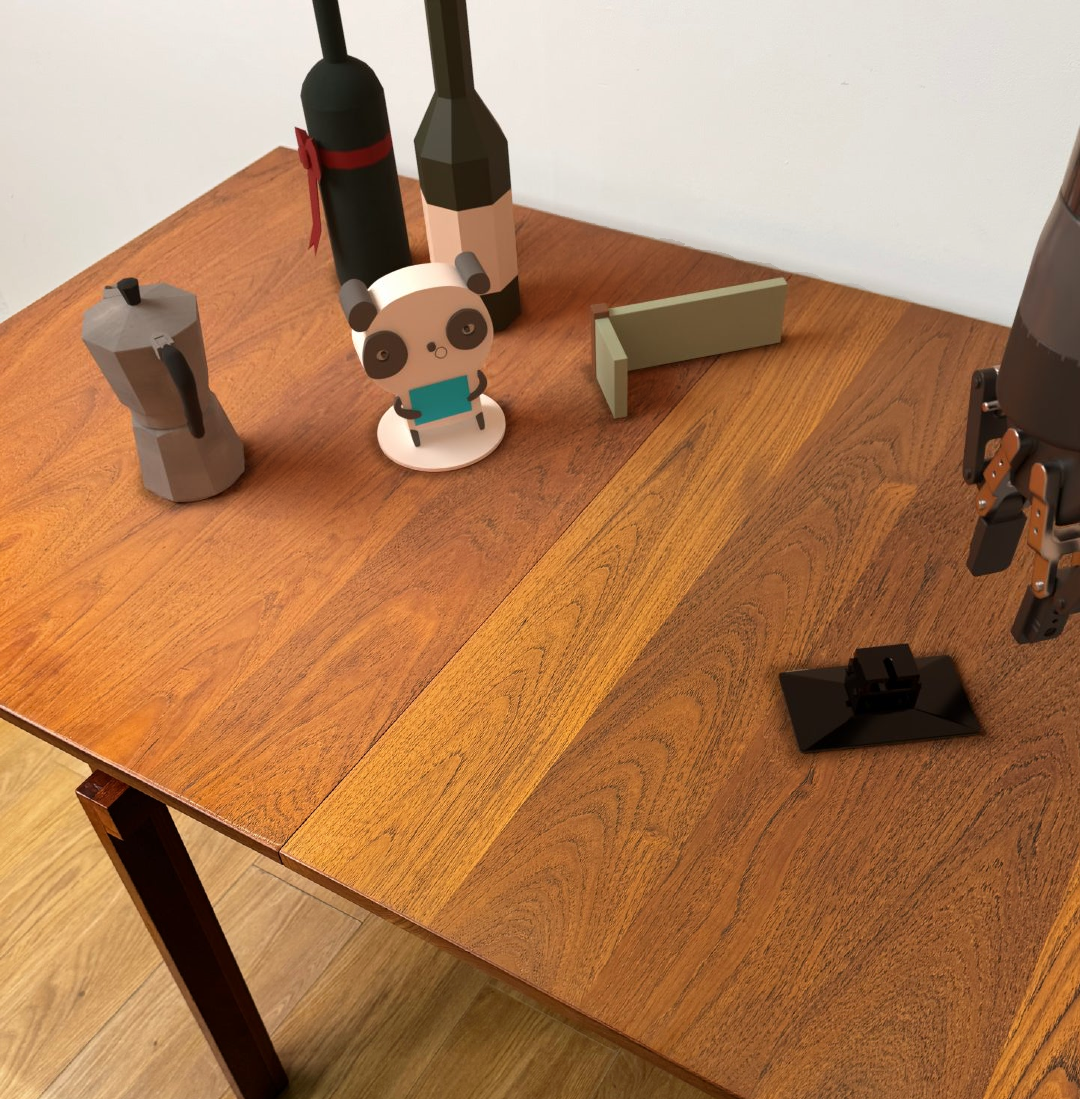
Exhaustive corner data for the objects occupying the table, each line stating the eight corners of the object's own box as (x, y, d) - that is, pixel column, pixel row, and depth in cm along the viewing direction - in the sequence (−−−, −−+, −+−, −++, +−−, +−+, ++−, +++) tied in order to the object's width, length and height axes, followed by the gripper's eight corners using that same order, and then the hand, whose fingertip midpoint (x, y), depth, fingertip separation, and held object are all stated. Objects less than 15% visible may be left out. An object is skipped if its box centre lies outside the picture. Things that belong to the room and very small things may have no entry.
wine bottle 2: (445, 287, 117) (400, -53, 93) (527, 289, 116) (502, -55, 92) (429, 335, 112) (377, -12, 88) (514, 338, 110) (485, -13, 87)
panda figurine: (388, 487, 98) (356, 331, 86) (357, 410, 105) (324, 256, 93) (522, 451, 100) (509, 294, 88) (483, 378, 107) (466, 223, 95)
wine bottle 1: (304, 276, 119) (225, -57, 96) (390, 243, 122) (334, -88, 99) (338, 311, 115) (264, -29, 92) (427, 275, 118) (377, -62, 95)
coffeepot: (118, 451, 103) (38, 264, 89) (215, 410, 106) (152, 223, 92) (184, 547, 95) (107, 358, 81) (287, 501, 98) (231, 310, 84)
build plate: (799, 754, 79) (807, 712, 75) (776, 674, 83) (782, 630, 80) (980, 734, 79) (997, 690, 75) (947, 654, 83) (961, 609, 80)
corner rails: (775, 334, 108) (783, 269, 103) (805, 382, 104) (815, 316, 99) (591, 369, 107) (589, 304, 102) (613, 419, 102) (612, 354, 97)
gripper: (1313, 394, 43) (1149, 689, 56) (1111, 206, 52) (1011, 500, 65) (1126, 432, 42) (1004, 721, 56) (953, 234, 51) (884, 526, 64)
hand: (1008, 600), depth 60 cm, fingers open, 4 cm apart
